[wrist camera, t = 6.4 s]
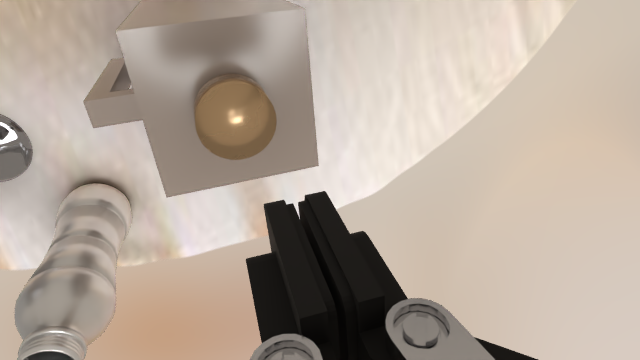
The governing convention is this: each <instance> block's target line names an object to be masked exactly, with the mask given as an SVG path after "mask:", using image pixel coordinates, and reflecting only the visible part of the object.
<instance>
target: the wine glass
mask: <svg viewBox="0 0 640 360" xmlns="http://www.w3.org/2000/svg"><path fill="white" fill-rule="evenodd" d="M32 153H33V152H32V146H31V143H30V140H29V138H28V136H27V135H26V133H25V132H24V131H23V130H22V128H21V127H19V126H18V125H17V124H16V123H15V122H13V121H12V120H10V119H9V118H7V117H5V116H3V115H1V114H0V182H5V181H9V180H12V179H14V178H16V177H18V176H19V175H21V174H22V173H23V172H24V171H25V170H26V169H27V168H28V166H29V165H30V163H31V160H32Z"/></svg>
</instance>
